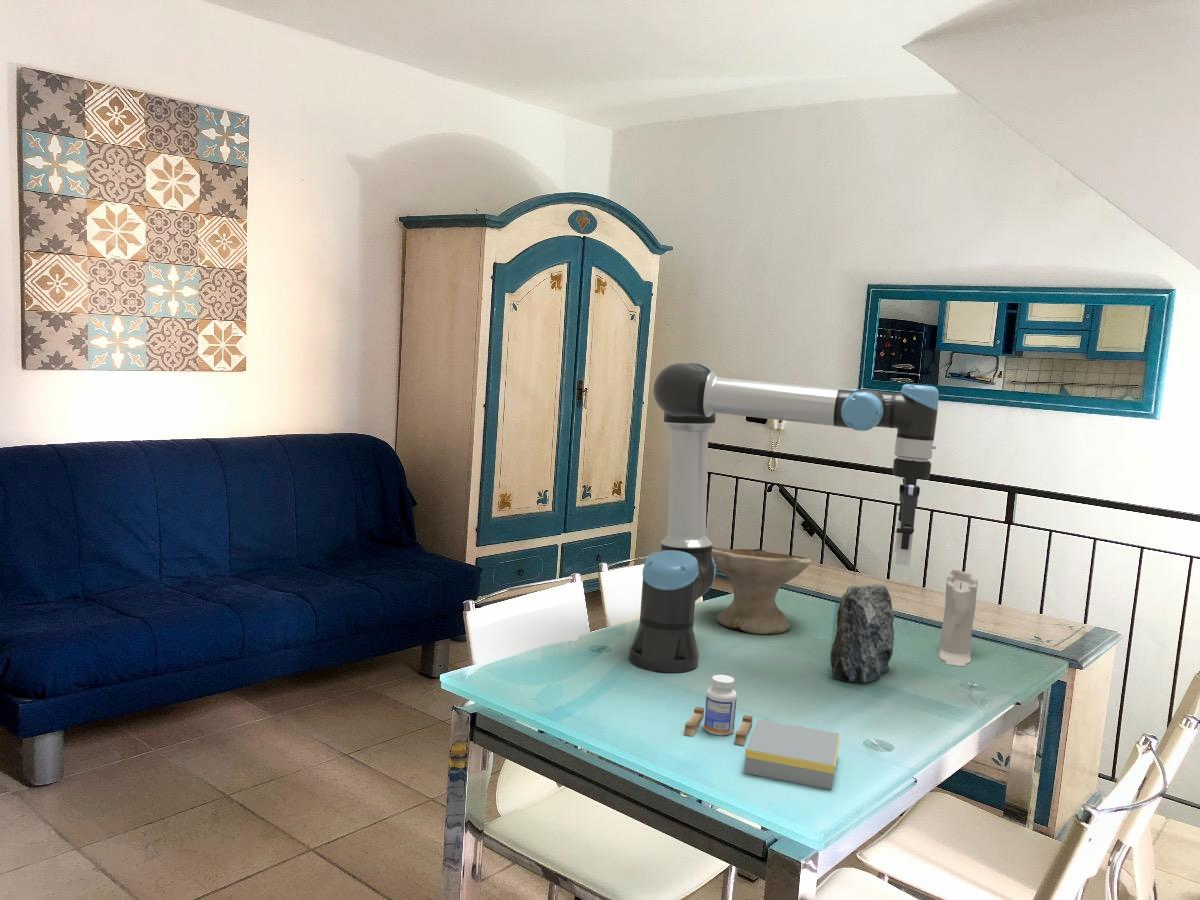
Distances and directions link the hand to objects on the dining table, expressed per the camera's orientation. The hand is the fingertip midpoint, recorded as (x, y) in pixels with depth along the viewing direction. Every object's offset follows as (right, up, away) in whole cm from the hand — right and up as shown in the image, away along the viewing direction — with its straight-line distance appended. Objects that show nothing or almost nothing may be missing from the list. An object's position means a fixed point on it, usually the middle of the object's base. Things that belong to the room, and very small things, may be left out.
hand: (901, 558), depth 207 cm
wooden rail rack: (-42, -28, -31) cm, 59 cm away
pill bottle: (-42, -28, -30) cm, 59 cm away
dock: (-32, -30, -43) cm, 61 cm away
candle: (+20, -26, +24) cm, 41 cm away
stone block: (-6, -26, +7) cm, 28 cm away
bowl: (-25, -21, +40) cm, 52 cm away
